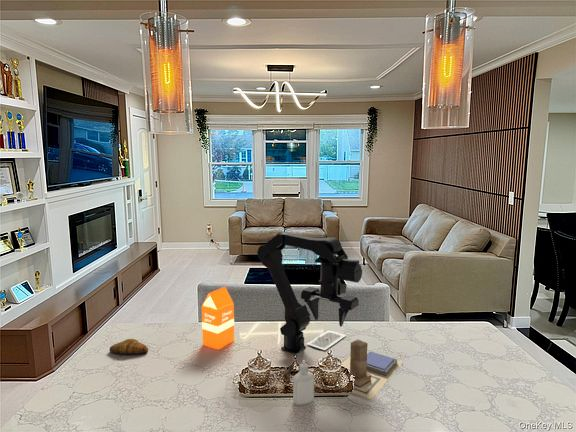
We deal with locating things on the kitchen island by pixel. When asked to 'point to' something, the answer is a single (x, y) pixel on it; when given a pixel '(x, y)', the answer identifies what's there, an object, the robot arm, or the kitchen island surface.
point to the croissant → (129, 347)
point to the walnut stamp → (359, 363)
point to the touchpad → (326, 340)
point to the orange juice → (218, 319)
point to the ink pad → (380, 363)
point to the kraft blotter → (372, 381)
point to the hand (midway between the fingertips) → (328, 322)
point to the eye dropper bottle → (303, 386)
